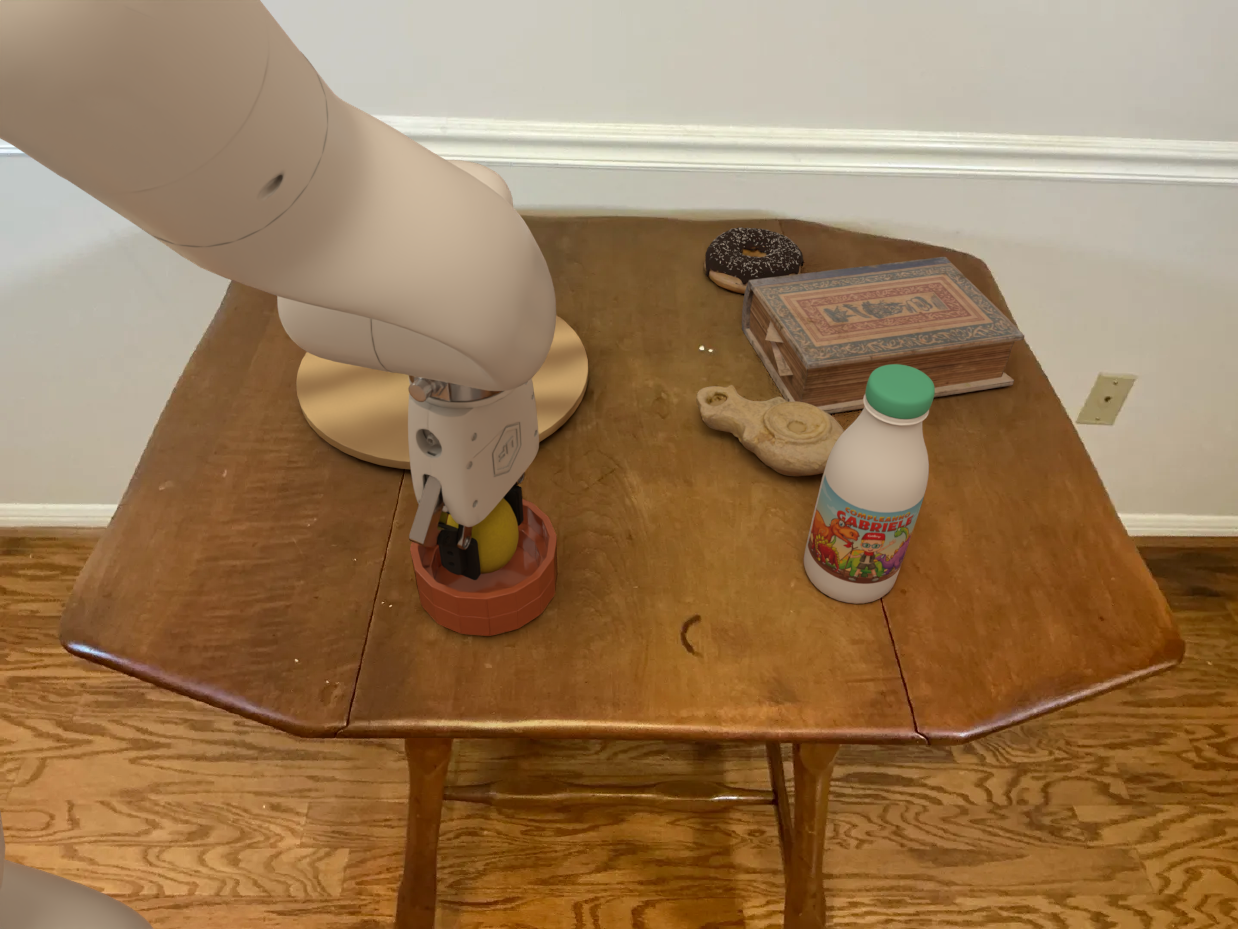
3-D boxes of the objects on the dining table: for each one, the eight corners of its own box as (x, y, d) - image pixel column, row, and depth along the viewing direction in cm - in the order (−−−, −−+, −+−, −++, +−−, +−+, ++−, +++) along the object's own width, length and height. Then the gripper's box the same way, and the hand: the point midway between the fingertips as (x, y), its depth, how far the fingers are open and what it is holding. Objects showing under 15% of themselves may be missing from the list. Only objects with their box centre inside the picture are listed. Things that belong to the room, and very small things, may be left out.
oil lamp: (693, 412, 94) (697, 372, 91) (837, 422, 94) (847, 381, 90) (691, 486, 86) (696, 445, 83) (849, 496, 86) (860, 456, 83)
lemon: (448, 594, 74) (437, 522, 68) (454, 542, 78) (445, 470, 72) (519, 593, 74) (514, 522, 68) (522, 541, 78) (517, 470, 73)
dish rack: (633, 434, 90) (636, 366, 84) (321, 507, 82) (302, 437, 76) (539, 277, 110) (537, 214, 105) (282, 323, 102) (265, 257, 97)
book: (1031, 334, 94) (797, 367, 89) (1011, 388, 98) (787, 423, 93) (946, 251, 106) (736, 276, 101) (931, 302, 111) (730, 328, 106)
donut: (702, 248, 118) (704, 219, 115) (796, 252, 118) (801, 223, 115) (704, 297, 110) (707, 267, 107) (806, 301, 110) (811, 271, 107)
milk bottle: (790, 542, 82) (831, 353, 68) (874, 532, 83) (931, 344, 69) (820, 612, 76) (871, 421, 62) (910, 600, 77) (979, 410, 64)
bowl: (512, 660, 72) (508, 619, 68) (390, 607, 75) (381, 565, 72) (580, 561, 79) (580, 520, 76) (467, 517, 83) (462, 476, 79)
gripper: (437, 451, 55) (464, 641, 67) (576, 306, 66) (577, 491, 79) (333, 412, 57) (377, 603, 69) (485, 279, 69) (499, 463, 81)
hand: (483, 542), depth 74 cm, fingers closed on lemon, 5 cm apart
